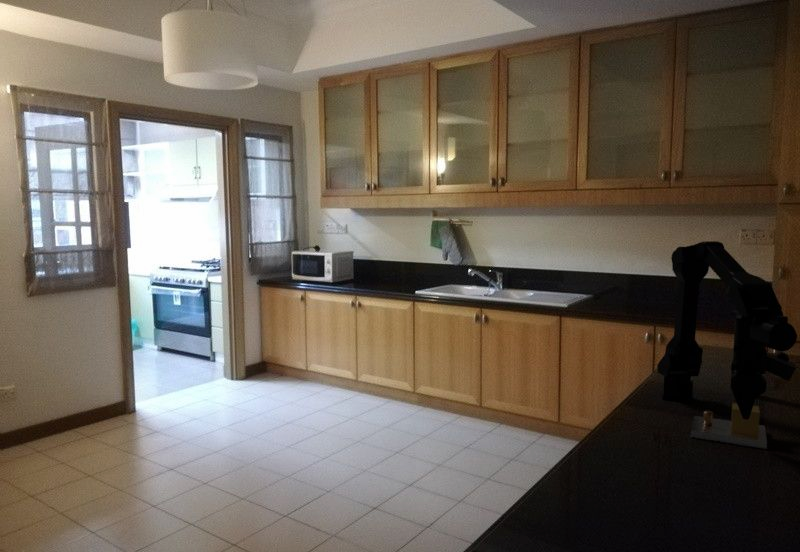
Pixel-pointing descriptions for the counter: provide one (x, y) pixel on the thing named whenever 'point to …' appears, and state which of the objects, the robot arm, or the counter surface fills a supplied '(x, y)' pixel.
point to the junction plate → (725, 432)
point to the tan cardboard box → (745, 421)
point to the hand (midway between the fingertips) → (745, 412)
